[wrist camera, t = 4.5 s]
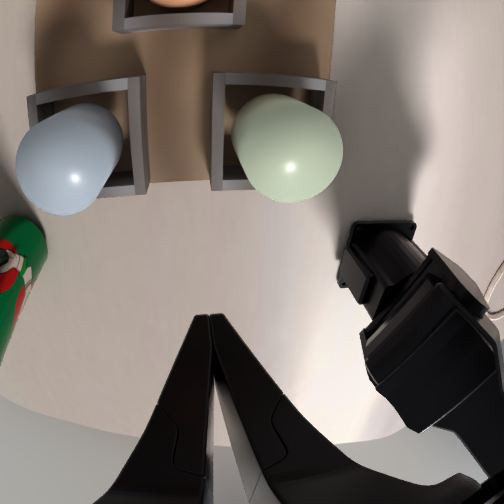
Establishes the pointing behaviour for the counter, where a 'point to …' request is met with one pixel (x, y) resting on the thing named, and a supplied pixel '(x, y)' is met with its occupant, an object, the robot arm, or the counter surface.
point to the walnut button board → (179, 77)
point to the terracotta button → (178, 4)
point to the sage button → (286, 147)
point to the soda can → (17, 270)
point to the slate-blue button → (69, 158)
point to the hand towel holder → (490, 289)
